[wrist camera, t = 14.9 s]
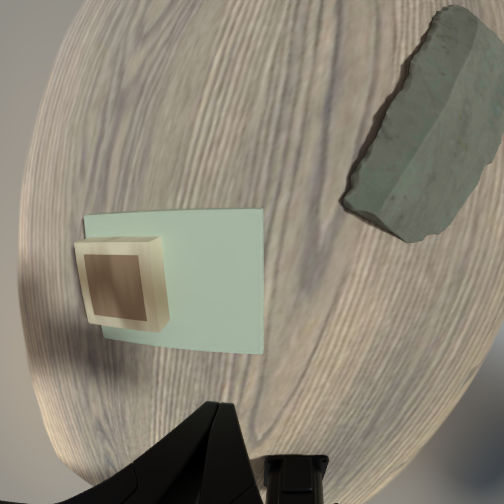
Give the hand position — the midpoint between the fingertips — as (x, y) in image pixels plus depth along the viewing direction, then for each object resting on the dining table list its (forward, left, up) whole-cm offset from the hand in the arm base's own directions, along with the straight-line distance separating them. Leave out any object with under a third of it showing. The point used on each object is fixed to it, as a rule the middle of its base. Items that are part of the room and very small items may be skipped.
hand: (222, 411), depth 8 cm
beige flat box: (0, +6, -10) cm, 12 cm away
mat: (0, +6, -12) cm, 13 cm away
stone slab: (+12, -15, -13) cm, 23 cm away
